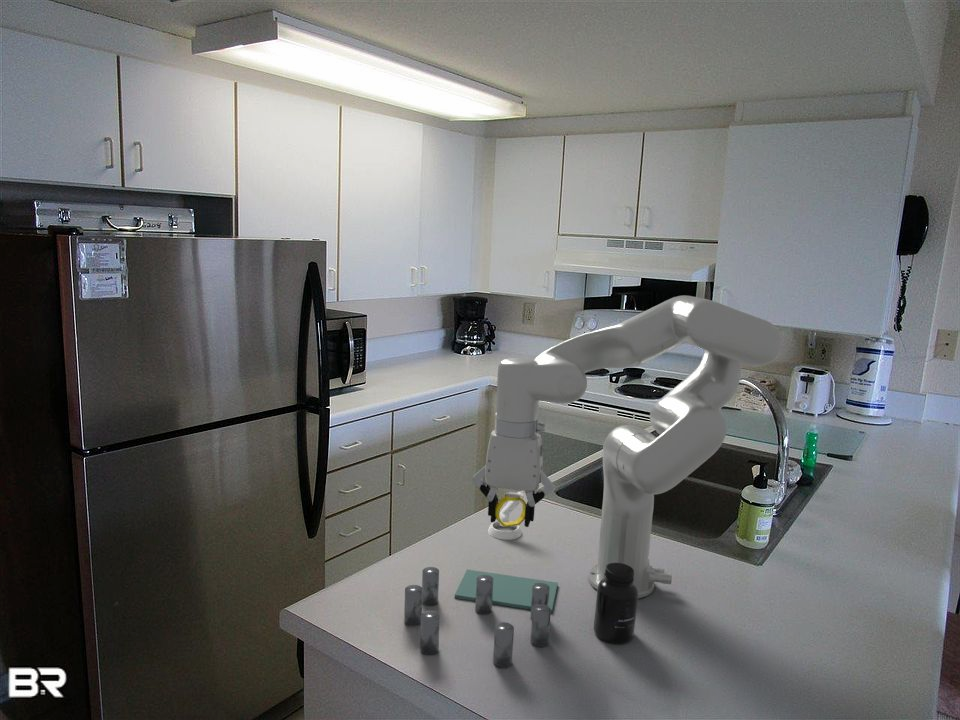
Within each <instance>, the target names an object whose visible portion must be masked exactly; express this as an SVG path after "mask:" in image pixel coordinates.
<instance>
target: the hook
mask: <svg viewBox="0 0 960 720" xmlns="http://www.w3.org/2000/svg"><path fill="white" fill-rule="evenodd" d="M517 493H518V494H519V495H520V497H521V498H522V499H523V500H524V496H525V495H524V494H523V493H522V492H521V491H518V492H517ZM521 503H522V502H521V500H518V501H510V500H508V501H507V503H506V505H505V506H504V507H503V508H501V509H500V513H499V517H500V520H501V521H502V522H503V523H504V522H512V521H513V520H511V519H510V517H509V516H510V514H511V513H512V512H513V511H514V510H515V508H517V507H518V505H519V504H521ZM495 527H496V528H497V527H503V528H505V527H504V526H503V525H501V524H500V523H499V522H498V521H497V520H495V522H491V524H490V525H489V527H488V530H487V533H488V535H489V536H491V537H492V538H493V539H498V540H502V541H504V540H508V541H510V540H516V539H518V538H520V537H522V529H521V527H520V525H515V526H509V527H511V528H514V529H513V530H508V531H507V530H506V531H505V530H500V529H496V528H495Z"/></svg>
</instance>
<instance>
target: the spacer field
mask: <svg viewBox="0 0 960 720" xmlns="http://www.w3.org/2000/svg"><path fill="white" fill-rule="evenodd" d="M421 575H422V577H421V580H422V581H421V585H418V584H410V585H407V586H406V587H405V588H404V610H403V611H404V614H403V615H404V618H403V619H404V621H403V623H404V624H405V625H407V626H409V627H417V626H419V625H420V638H419V639H420V641H419V651H420V653H421V654H422V655H425V656H434V655H436V654H437V653H438V652H439V650H440V649H439V647H440V624H441V623H440V622H441V621H440V619H441V614H440V613H439V612H438V611H436V610H426V611H423V605H424V606H427V607H429V606H430V607H432V606H436V605H437V604H438V603H439V589H440V587H439V586H440V582H439V581H440V570H439V568H437V567H434V566H427V567H424V568H423V569H422V574H421ZM549 589H550V587H549V586H548V585H547V584H544V583H535V584H534V585H533V586H532V601H531V609H530V617H529V618H530V620H531V627H530V628H531V629H530V630H531V631H530V644H531V645H532V646H534V647H536V648H540V649H541V648H545V647H548V645H549V642H550V641H549V640H550V631H551V629H550V627H551V615H552V613H551V609H550V607H549V606H548V604H549ZM492 598H493V577H491V576H489V575H480V576H478V577H477V581H476V601H474V602H475V604H474V605H475V606H474V611H475V612H476V613H477V614H479V615H489V614H491V613H492V611H493V604H492ZM514 631H515V627H514V625H512V623H509V622H505V621H503V622H501V621H500V622H498V623H496V624H495V625H494V633H493V634H494V635H493V637H494V638H493V655H492V656H493V657H492V664H493V665H494V667H497V668H500V669H507V668H510V667H511V666H512V665H513V650H514V635H515V634H514V633H515V632H514Z"/></svg>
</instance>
